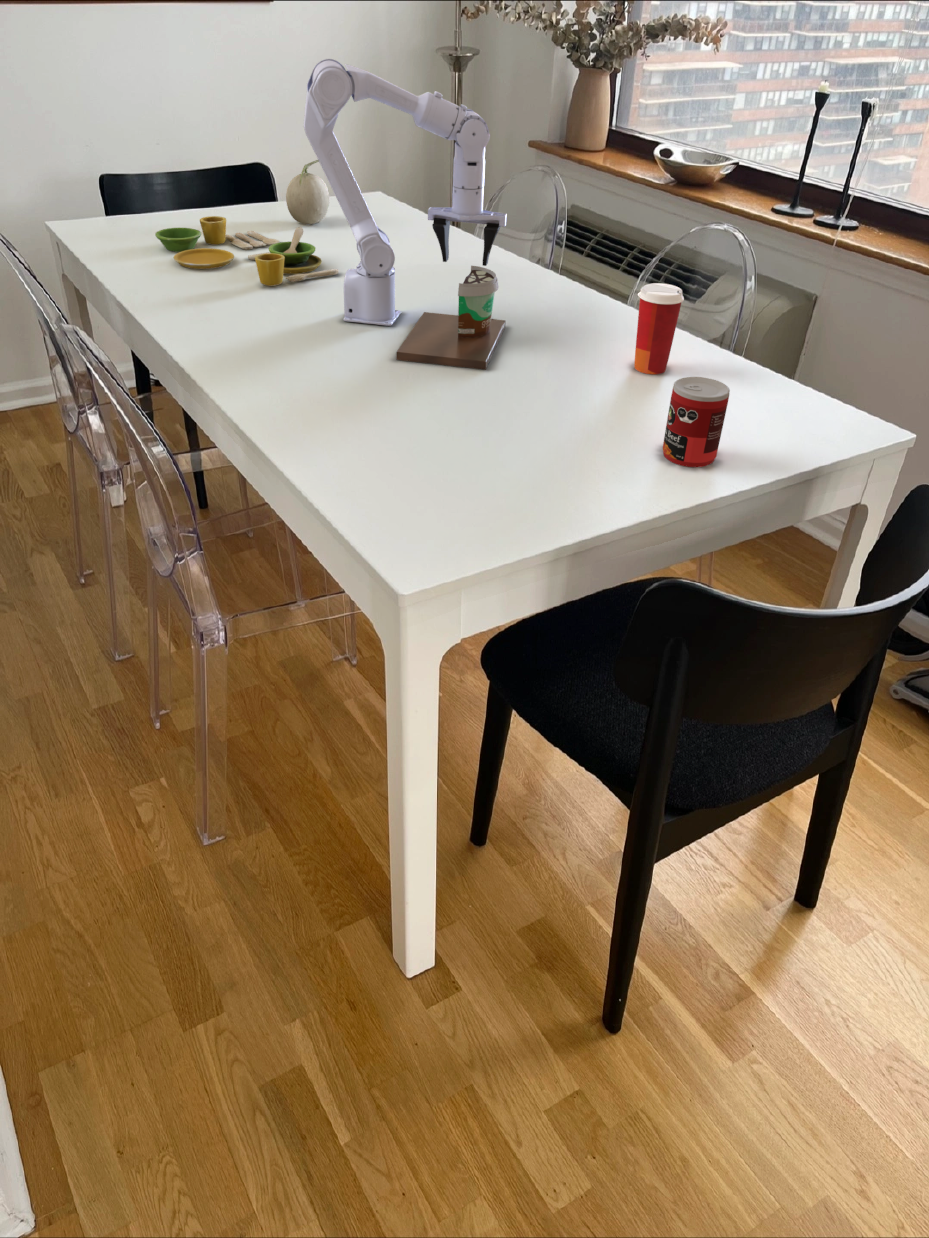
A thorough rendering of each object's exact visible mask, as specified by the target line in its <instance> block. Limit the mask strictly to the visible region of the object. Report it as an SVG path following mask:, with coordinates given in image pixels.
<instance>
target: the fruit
mask: <svg viewBox="0 0 929 1238" xmlns="http://www.w3.org/2000/svg"><path fill="white" fill-rule="evenodd" d="M317 163H319V161H318V159H316V160H313V161H311V162H308V163H307V164H304V166H303V168H302V170H301V173H299V174H297V175H295V176H294V177H293V178H292V179H291V180H290V182H289V184H288V185H287V187H286V194H285V202H286V206H287V210H288V213H289V214H290V216H291V217H292V219H293V220H295V221H296V222H297V223H299V224H303V225H314V224H317V223H319V222H321V221H323V219H324V218H325V217H326V215H327V213H328V211H329V208H330V193H329V188H328V186H327V184H326V182H325V181H324V180H323V178H321V177H320V176H318V175H317V174H314V173H310V172H308V169H309V167H311V166H313V165H314V164H317Z"/></svg>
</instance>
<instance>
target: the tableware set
mask: <svg viewBox="0 0 929 1238" xmlns="http://www.w3.org/2000/svg"><path fill="white" fill-rule="evenodd" d="M199 223H200V227H201V231H202V232H201V231H200V230H198V229H196V228H193V227H192V228H191V227H168V228H162V229H159V230H158V231H156V232H155V234H154V236H155V238H156V239H157V240H159V241H160V243H161V244H162V245H163V247H164V248H165V249H166V250H167V251H168V252H174V253H175V254H174V255H173V259H174V261H175V262H176V263H177V264H178V265H180V266H181V267H184V268H189V269H196V270H208V269H209V270H210V269H218V268H222V267H225V266H227V265H229V264H231V262H232V261H233V260H234V258H235V255H234V253H233V252H231V251H229V250H225V249H221V248H212V247H210V248H209V247H204V248H202V247H201V248H195V247H196V246H197V243H198V240H199V239H200V238H201V237H202V235H203V238H204V242H205V243H206V244H208V245H215V246H216V245H222V244H225V242H226V241H229V242H231V245H233V246H235V247H237V248H239V249H242V250H246V251H247V250H253V248H259V247H261V248H262V247H266V246H268V252H261V253H255V254H249V255H247V259H248V260H250V261H255V265H256V270H257V274H258V278H259V282H260V284H261V285H264V286H268V287H272V286H278V285H281V284H283V281H284V274H285V275H288V276H286V277H285V280H287V281H289V282H291V283H294V282H301V281H305V280H306V279H313V278H319V277H327V276H334V275H335V276H336V275H338V274H339V269H337V268H331V269H324V270H320V271H315V270H317V269H318V268H319V266H321V264H322V262H323V260H322V258H321V257H319V256H318V255H315V254H314V253H315V252H316V246H315V245H314V244H311V243H308V242H302V241H301V239H302V237H303V234H304V232H305V231H304V228H303V227H300V226H298V227H295V229H294V232H293V236H292V239H291V241H281V242H280V240H279V239H277V238H269V237H266V236H264V235H262V234H260V233H258V232H256V231H255V230H248V231H247V232H246V234H247V235H246V234H244V233H242V232H235V237H234V236H233V235H231V234H226V233H227V218H226V217H224V216H221V215H220V216H219V215H208V216H203V217H201V218H199ZM253 238H254V239H255V240H254V239H253Z"/></svg>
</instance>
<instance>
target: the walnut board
mask: <svg viewBox="0 0 929 1238" xmlns="http://www.w3.org/2000/svg"><path fill="white" fill-rule="evenodd" d="M506 322H507V321H506V319H495V318H491V324H490V331H489V333H487V334H486V335H483V336H480V337H473V338H462V337H458V315H455V314H447V313H437V312H427V311H424V312H423V313H422V314H421V316H420V318H419V319H418V320H417V322H416V323H415V324H414V326H413V328H412V329H411V330H410V331H409V333H408V335H407V336H406V338H405V339H404V340H403V342H402V344H401V345H400V346H399V348H398V349H397V351H396V353H395V355H396V356H395V357H396V358H395V359H396V361H402V362H412V363H420V364H421V363H422V364H430V365H439V366H447V367H456V368H465V369H475V370H483V371H484V370H487V368H488V366H489V363H490V362H491V360H492V357H493V355H494V353H495V351H496V348H497V347H498V344H499V342H500V340H501V338H502V336H503V334H504V332H505V330H506V324H507V323H506Z"/></svg>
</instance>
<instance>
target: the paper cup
mask: <svg viewBox="0 0 929 1238" xmlns="http://www.w3.org/2000/svg"><path fill="white" fill-rule="evenodd" d="M637 297H638V298H639V303H638V315H637V317H638V318H637V328H636V340H635V351H634V364H633V365H634V369H635V370H636V371H637V372H638V373H642V374H646V375H662V374H664V373H665V372H666V370H667V367H668V363H669V359H670V355H671V351H672V346H673V342H674V337H675V332H676V328H677V325H678V320H679V316H680V311H681V306H682V303H683V302H684V300H685V297H684V295H683V289H682V288H680V287H678V286H676V285H674V284H669V283H663V282H662V283H659V282H653V283H647V284H645V285H643V286H642V287H641V288H640V292H638V293H637Z"/></svg>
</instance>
